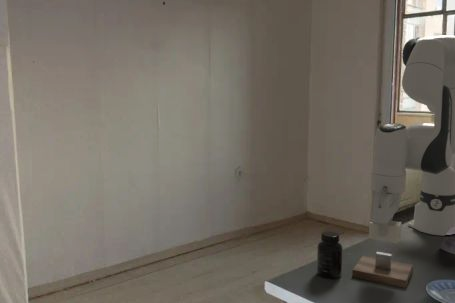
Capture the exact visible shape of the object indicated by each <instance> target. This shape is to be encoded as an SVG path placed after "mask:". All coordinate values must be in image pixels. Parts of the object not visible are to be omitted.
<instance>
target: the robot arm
mask: <svg viewBox="0 0 455 303" xmlns="http://www.w3.org/2000/svg"><path fill="white" fill-rule="evenodd" d="M401 56H402V62H403V65H404V66H405V67H404V71H403V75H402V78H401V79H402V80H401V85H402V89H403V91H404V93H405V94H406V96H408V97H409V98H410V99H412V100H413V101H414V102H416V103H419V104H421V105H425V106H426V108H427V110H428V111H429V112H430V113H431V114H433V115H434V119H433V122H420V123H419V122H418V123H413V124H410V125H409V126H408V127H407V126H406V125H404V124H401V123H395V122H394V123H385V124H381V125H379V126H378V127H377V128H376V131H375V134H374V136H375V137H374V142H373V148H372V149H373V150H372V158H373V166H372V169H371V181H370V183H371V184H370V189H371V190H372V191H375V192H374V193H375V195H374V198H373V205H372V214H371V216H372V217H371V220H372V222H373V224H376V225H378V227H379V236H382V237H385V236H386V234H387V223H388V222H389V221H393V218H394V215H395V214H396V213H397V211H398V210H399V207H400V205H401V204H400V203H401V198H402V193H406V181H407V170H412V171H414V170H415V171H421V174H422V177H421V178H422V181H421V182H422V185H421V186H422V187H421V190H420V194H419V200H420V201H419V202H418V203H416V204H415V205H414V213H413V220H411V221H409V222H408V224H407V226H408V227H410V228H413V229H414V230H416V231H418V232H422V233H424V234H428V235H434V236H441V237H442V236H443V237H446V236H445V235H446V233H447V232H448V231H449V230H450V229H451V228H453V227H455V169H454V168H453V167H452V166H451V162H452V160H453V159H452V158H453V156H455V35H450V34H449V35H447V34H445V35H444V34H443V35H442V34H441V35H436V36H435V35H434V36H433V35H432V36H425V37H415V38H411V39H409V40H408V41H406V43H405V44H404V46H403V48H402V55H401Z"/></svg>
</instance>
